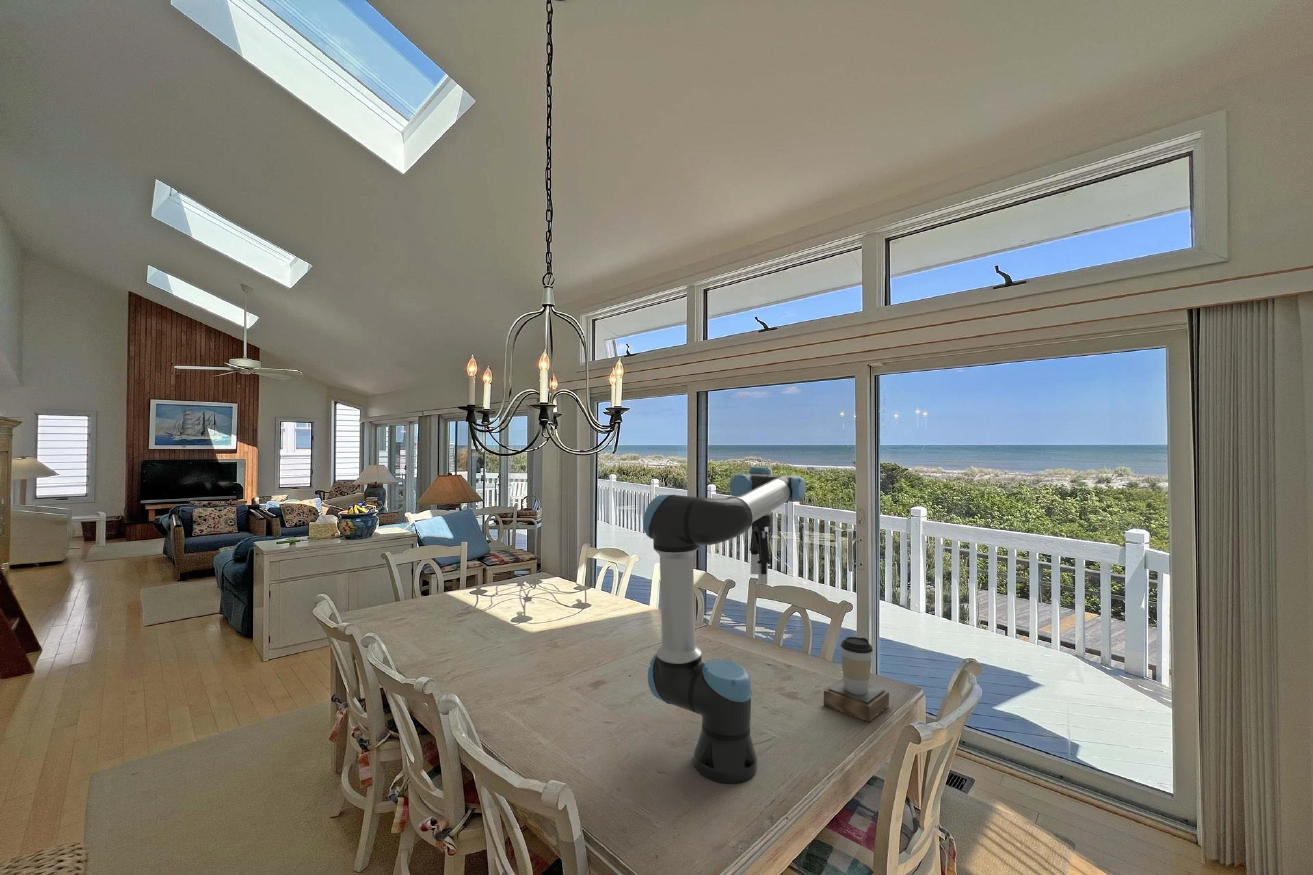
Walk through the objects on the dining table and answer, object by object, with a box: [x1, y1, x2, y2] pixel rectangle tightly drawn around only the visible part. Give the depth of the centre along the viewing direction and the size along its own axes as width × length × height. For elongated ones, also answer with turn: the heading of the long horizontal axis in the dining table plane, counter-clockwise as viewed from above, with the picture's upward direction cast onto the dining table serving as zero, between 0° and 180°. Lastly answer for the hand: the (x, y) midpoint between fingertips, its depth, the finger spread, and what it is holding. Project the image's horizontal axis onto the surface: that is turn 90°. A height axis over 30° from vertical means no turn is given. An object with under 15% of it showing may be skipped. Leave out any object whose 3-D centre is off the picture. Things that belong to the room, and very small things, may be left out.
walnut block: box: [823, 678, 890, 722], centre depth 162 cm, size 14×14×5 cm
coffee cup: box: [840, 636, 874, 694], centre depth 162 cm, size 9×9×15 cm
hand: (758, 578), depth 174 cm, fingers open, 13 cm apart
